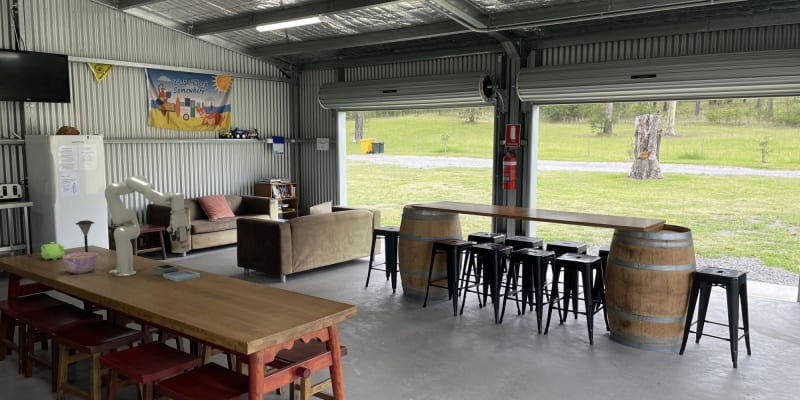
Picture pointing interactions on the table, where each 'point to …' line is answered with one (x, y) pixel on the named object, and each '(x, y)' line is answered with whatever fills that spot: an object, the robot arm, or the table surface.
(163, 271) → the metal sleeve
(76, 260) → the bowl of food
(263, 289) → the table surface
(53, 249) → the green lumpy rounded block
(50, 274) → the table surface
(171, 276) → the pale blue square tray
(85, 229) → the solar garden light
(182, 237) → the coffee box
